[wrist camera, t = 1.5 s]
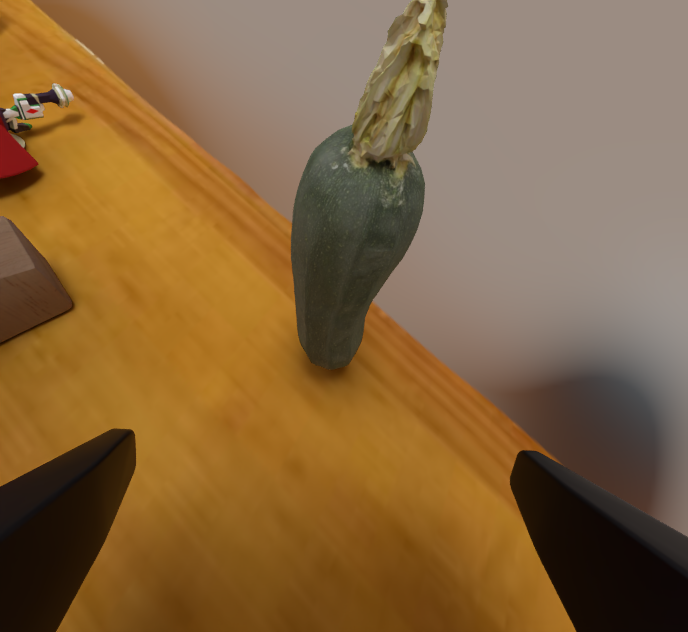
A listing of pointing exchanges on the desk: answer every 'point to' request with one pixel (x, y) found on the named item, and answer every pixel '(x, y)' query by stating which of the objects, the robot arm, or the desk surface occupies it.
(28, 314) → the wooden block
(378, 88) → the vegetable
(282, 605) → the desk surface
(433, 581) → the desk surface
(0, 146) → the action figure
